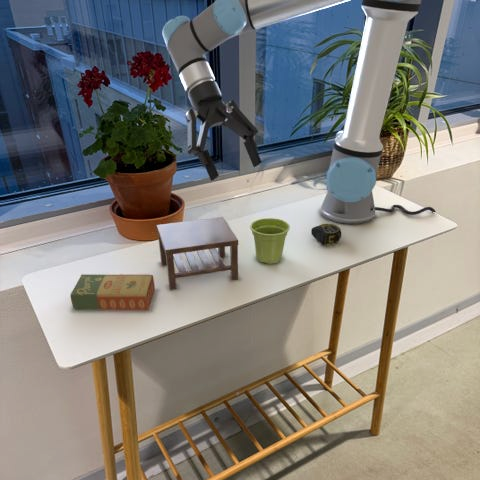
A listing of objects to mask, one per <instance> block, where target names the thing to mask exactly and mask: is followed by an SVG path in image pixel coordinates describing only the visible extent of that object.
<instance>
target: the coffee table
mask: <svg viewBox="0 0 480 480" xmlns="http://www.w3.org/2000/svg"><path fill="white" fill-rule="evenodd" d="M156 230H157V237H158V246H159V247H158V248H159V256H160V264H161V266H166V269H167V270H166V271H167V277H168V278H167V280H168V288H169V290H170V291H173V290H176V289H177V280H176V279H180V278H181V279H182V278H186V277H195V276H200V275H206V274H212V273H213V274H214V273H219V272H220V273H221V272H226V271H227V272H228V271H230V278H231V280H232V281H236V280H238V279H239V239H238V237H237V236H236V234H235V233H234V231H233V229H232V228H231V227H230V225H229V224H228V222H227V220H226V219H225V217H224V216H218V217H217V216H216V217H209V218H203V219H201V218H200V219H193V220H185V221H177V222H170V223H163V224H161V223H160V224H156ZM227 247H229V255H230V256H229V258H230V262H229V263H230V264H228V265H226V264H225V262H224V260H223V258H224V257H226V248H227ZM207 250H208V251H209V253H210V254H211V256H212V258H213V260H214V262H215V265H216V266H213V265H212V263H211V262H210V259H209V257H208V255H207V253H206V252H205V251H207ZM193 252H196V253H197V255H198V257H199V259H200V262H201V263H202V265H203V267H204V268H201V269H200V267H199V264H198V263H197V261H196V258H195V256H194V254H193ZM180 254H184V255H185V257H186V260H187V262H188V264H189V267H190V269H191V270H187V269H186V267H185V264H184V262H183V259H182V257H181V255H180ZM175 266H176V269H177V271H178V272H176V269H175Z"/></svg>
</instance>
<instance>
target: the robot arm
mask: <svg viewBox="0 0 480 480" xmlns="http://www.w3.org/2000/svg"><path fill="white" fill-rule="evenodd" d="M349 1H350V0H214V2H213V3H211V4H210V5H209V6H207V8H205V9H204V10H203V11H202V12H200V13H199V14H198V15H196V16H195V17H193V18H192V19H190V17H188V16H186V15H178V16H176V17H175V18H171V19H170V20H168V21H167V22H166V23H165V25H164V26H163V28H162V31H161V32H162V33H161V35H162V37H163V41H164V43H165V46H166V50H167V52H168V53H169V56H170V59H171V60H172V62H173V64H174V66H175V69H176V71H177V73H178V76H179V78H180V81H181V84H182V85H183V88H184V91H185V92H186V94H187V97H188V99H189V102H190V104H191V107H192V108H190V109H189V110H188V111H187V112H186V113H185V115H184V117H185V121H186V123H187V124H186V125H187V133H186V135H187V138H186V139H187V153H188V155H192V154H193V155H194V157H198V161H199V162H200V165H201V166H202V167H203V168H205V170H206V173H207V174H208V177H209V180H210V181H211V182H212V181H215V180H216V179H217V178H218V177H220V174H219V172H218V170H217V168H216V165H215V163H214V161H213V159H212V156H211V154H210V152H209V149H205V146H206V143H207V138H208V134H209V130H210V129H212V128H214V127H219V126H223V127H227V128H228V129H229V130H231V132H233V133H235V134H236V135H237V136H239V137H240V138H241V139H243V140H244V141H243V145H244V148H245V150H246V152H247V154H248V157H249V159H250V162H251V164H252V167H253V168H256V167H258V166H259V165H260V164H262V163H263V162H262V159H261V157H260V155H259V152H258V150H259V148H258V145H257V143H256V140H255V135H257V134H259V129H258V128H257V127H256V126H255V125H254V124H253V123H252V122H251V121H250V119H249V118H248V117H247V116H246V115H245V114H244V113H243V112H242V110H241V109H239V107H238V105H237V103H236V101H235V100H234V99H231V100H230V101H229V102H227V103H225V102H224V101H223V99H222V97H223V96H222V91H221V90H220V88H219V85H218V83H217V81H215V80H216V78H215V75H214V73H213V70H212V68H211V66H210V63H209V61H208V59H207V54H208V53H211V51H213V50H214V49H216V48H217V47H218V46H221V44H223V43H225V42H226V41H227V40H230V39H232V38H234V37H236V36H241V35H242V34H246V33H249V32H252V31H255V30H259V29H262V28H265V27H268V26H271V25H274V24H277V23H281V22H284V21H288V20H291V19H293V18H296V17H300V16H303V15H307V14H310V13H314V12H316V11H319V10H323V9H327V8H330V7H333V6H336V5H339V4H342V3H345V2H349ZM421 3H422V0H362V1H361V9H362V10H363V12H364V14H365V16H366V17H365V24H364V28H363V33H362V38H361V43H360V47H359V53H358V57H357V62H356V66H355V72H354V77H353V81H352V87H351V90H350V91H351V92H350V96H349V100H348V107H347V109H346V116H345V119H344V126H343V130H340V131H338V132H337V133H336V134H335V138H334V141H333V148H332V151H331V152H332V153H331V158H330V163H329V167H328V169H327V172H326V176H325V177H326V179H325V180H326V185H327V189H328V190H327V192H326V194H325V197H324V199H323V201H322V204H321V209H320V212H321V215H322V216H323V217H324V218H326V219H327V220H329V221H332V222H335V223H340V224H346V225H348V224H349V225H358V224H363V223H367V222H370V221H372V220H373V219H374V217H375V215H376V214H375V213H376V211H379V212H384V213H392V212H394V210H395V209H399V210H401V211H402V212H403V213H404V214H405V215H408V216H415V215H416V216H417V215H419V214H422V213H424V212H426V211H430V212H431V213H436V210H435V209H434V208H433V207H431V206H425V207H423V208H421V209H419V210H416V211H410V210H408V209H406V208H405V207H404V206H402V205H400V204H392V205H391V207H390V208H385V207H381V206H380V207H379V206H376V205H375V200H374V194H373V190H374V188H375V186H376V184H377V174H378V169H379V165H380V161H381V157H382V152H383V149H384V145H383V143H382V142H381V136H380V135H381V131H382V127H383V123H384V119H385V116H386V111H387V107H388V103H389V100H390V96H391V91H392V87H393V83H394V79H395V76H396V72H397V68H398V64H399V59H400V55H401V51H402V48H403V44H404V41H405V35H406V31H407V28H408V23H409V21H410V20H412V19H413V18H414V17H415V16H416V15H418V14H419V11H420V7H421ZM197 119H198V120H199V121H201V122H200V126H199V132H198V131H197V127H198V126H197V125H198V124H197ZM197 132H198V133H199V134H198V133H197ZM197 134H198V137H197Z"/></svg>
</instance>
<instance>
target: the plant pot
mask: <svg viewBox="0 0 480 480" xmlns="http://www.w3.org/2000/svg"><path fill="white" fill-rule="evenodd" d="M249 228H250V231H251V232H252V235H253V240H254V248H255V255H256V260H257V261H258V262H260V263H266V264H267V265H271V264H276V263H279V262H280V261H281V260H282V257H283V253H284V246H285V242H286V237H287V235H288V232H289V231H290V229H291V226H290V224H289V223H288V221H285V220H284V219H279V218H273V217H268V218H267V217H264V218H260V219H256V220H253V222H251V223H250V225H249Z"/></svg>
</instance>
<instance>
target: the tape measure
mask: <svg viewBox="0 0 480 480" xmlns="http://www.w3.org/2000/svg"><path fill="white" fill-rule="evenodd" d="M310 233H311V236H312V237H313V238H314V239H316V241H318V242H319V243H320V245H322V246H328V245H334V244H337V243H338V242H339V241H340V240H341V238H342V230H341V228H340V227H339V226H338V225H336V224H334V223H322V224H319V225H316V226H313V227H312V228H311V231H310Z"/></svg>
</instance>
